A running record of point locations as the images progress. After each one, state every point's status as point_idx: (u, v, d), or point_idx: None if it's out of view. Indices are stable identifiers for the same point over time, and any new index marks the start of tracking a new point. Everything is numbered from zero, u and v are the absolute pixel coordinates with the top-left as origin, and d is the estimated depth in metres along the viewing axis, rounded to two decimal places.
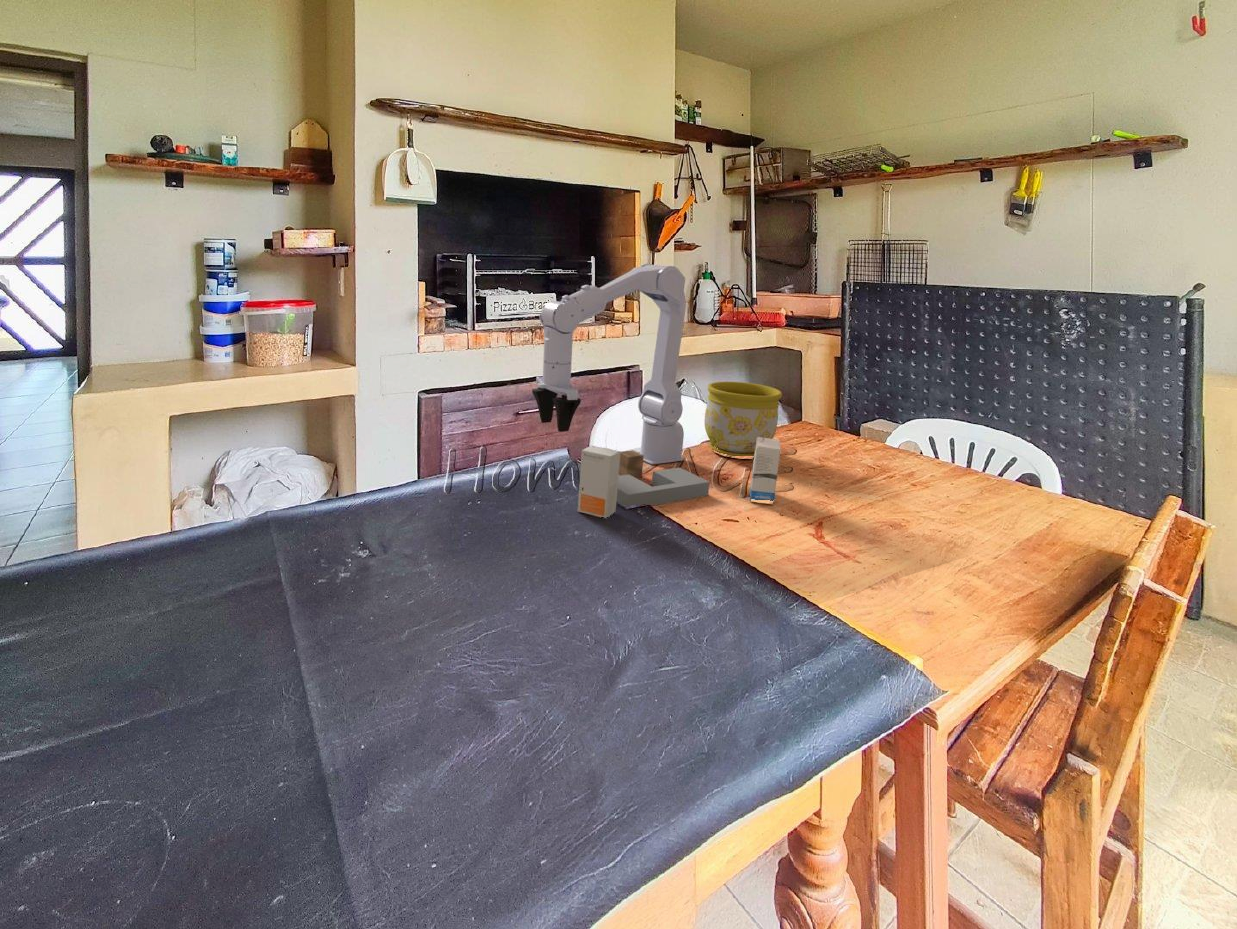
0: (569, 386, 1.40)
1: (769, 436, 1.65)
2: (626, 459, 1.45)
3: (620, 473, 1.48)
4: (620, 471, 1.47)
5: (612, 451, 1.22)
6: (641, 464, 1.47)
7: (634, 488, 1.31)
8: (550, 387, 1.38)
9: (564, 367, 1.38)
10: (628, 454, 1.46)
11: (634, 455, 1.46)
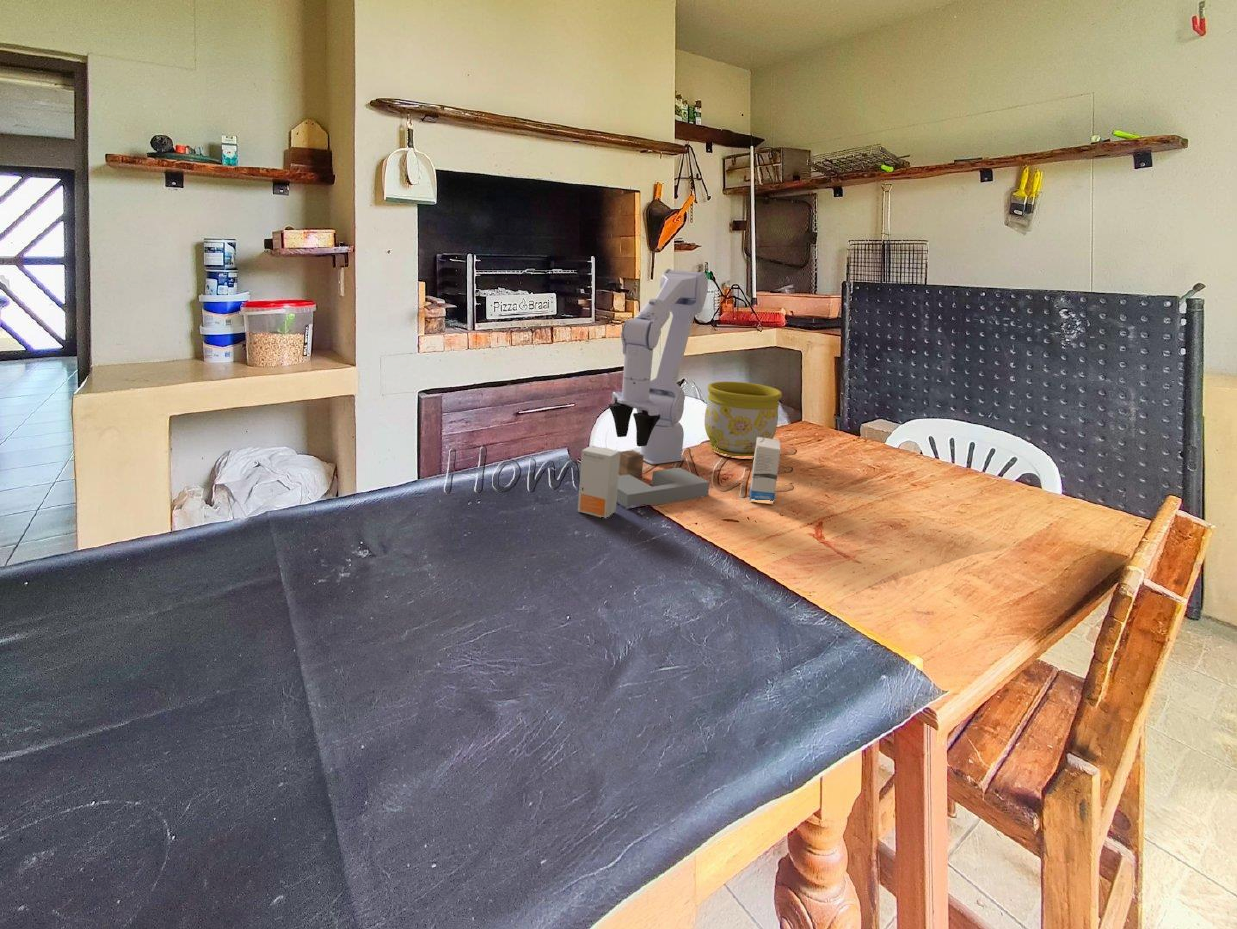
0: (648, 401, 1.42)
1: (769, 436, 1.65)
2: (626, 459, 1.45)
3: (620, 473, 1.48)
4: (620, 471, 1.47)
5: (612, 451, 1.22)
6: (641, 464, 1.47)
7: (634, 488, 1.31)
8: (630, 403, 1.41)
9: (644, 383, 1.40)
10: (628, 454, 1.46)
11: (634, 455, 1.46)
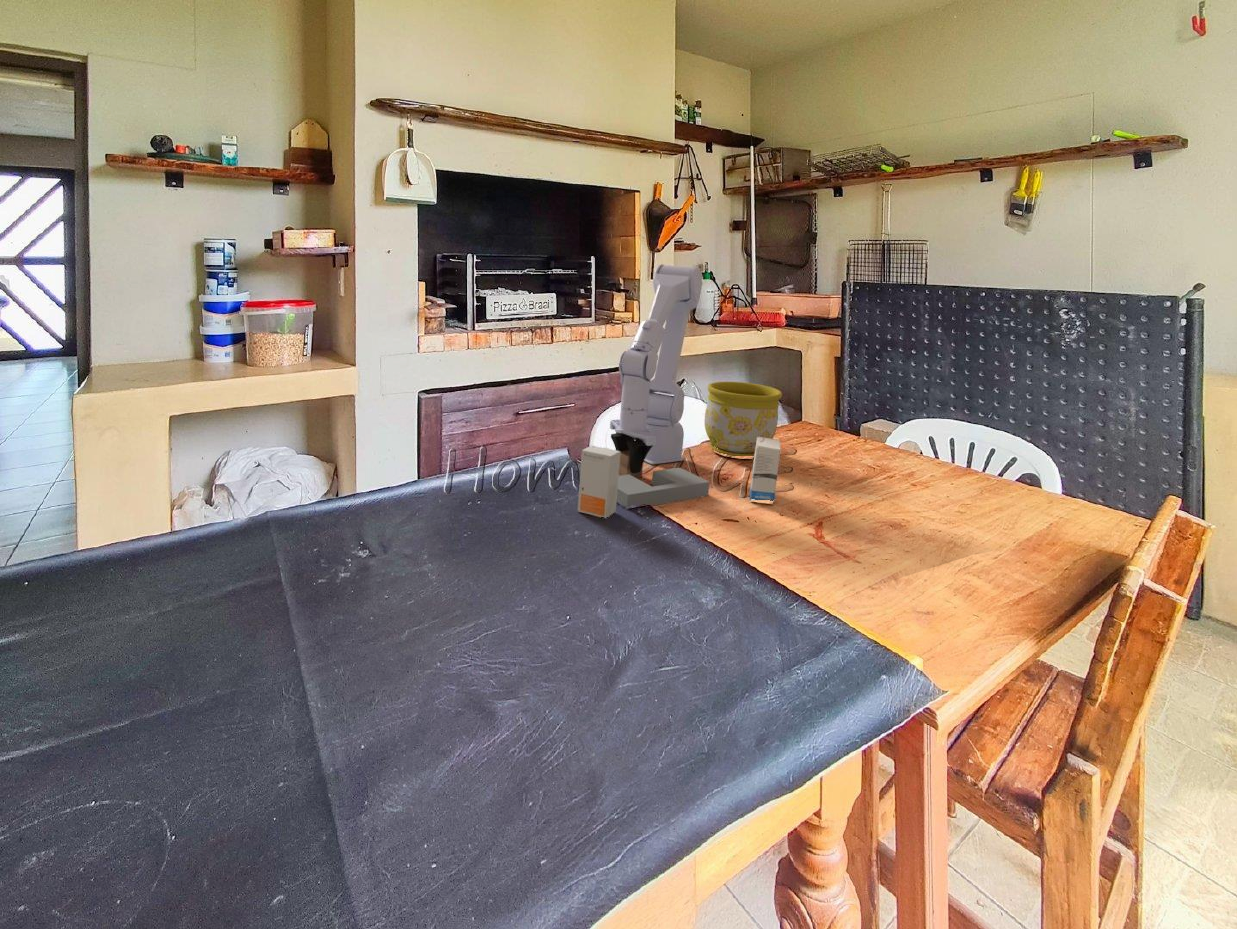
0: (645, 431, 1.44)
1: (769, 436, 1.65)
2: (626, 459, 1.45)
3: (620, 473, 1.48)
4: (620, 471, 1.47)
5: (612, 451, 1.23)
6: None
7: (634, 488, 1.31)
8: (628, 432, 1.42)
9: (642, 413, 1.42)
10: (628, 454, 1.46)
11: None
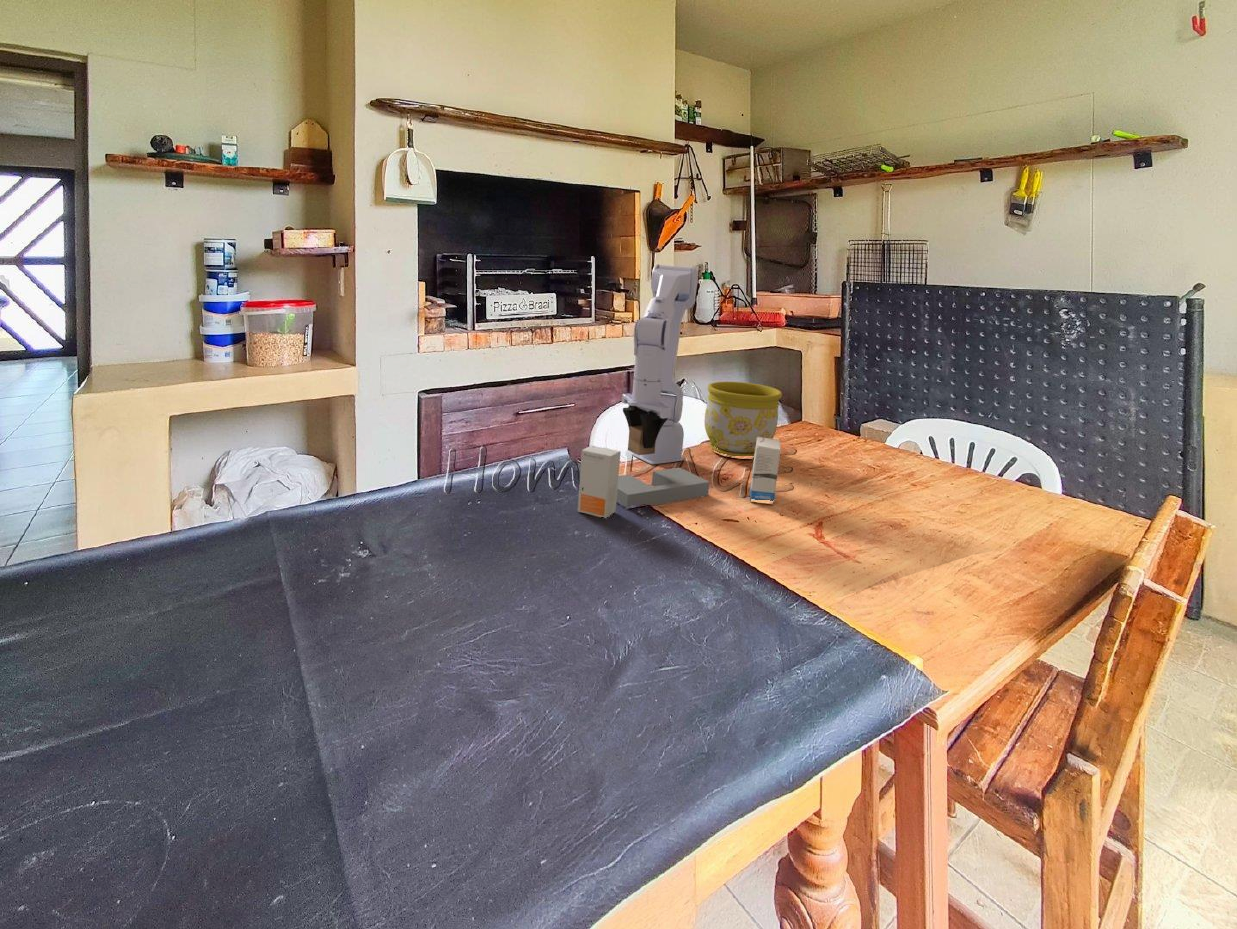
0: (659, 404, 1.37)
1: (769, 436, 1.65)
2: (638, 433, 1.38)
3: (632, 449, 1.40)
4: (632, 447, 1.40)
5: (612, 451, 1.23)
6: None
7: (634, 488, 1.31)
8: (641, 405, 1.35)
9: (656, 385, 1.35)
10: (641, 429, 1.39)
11: None
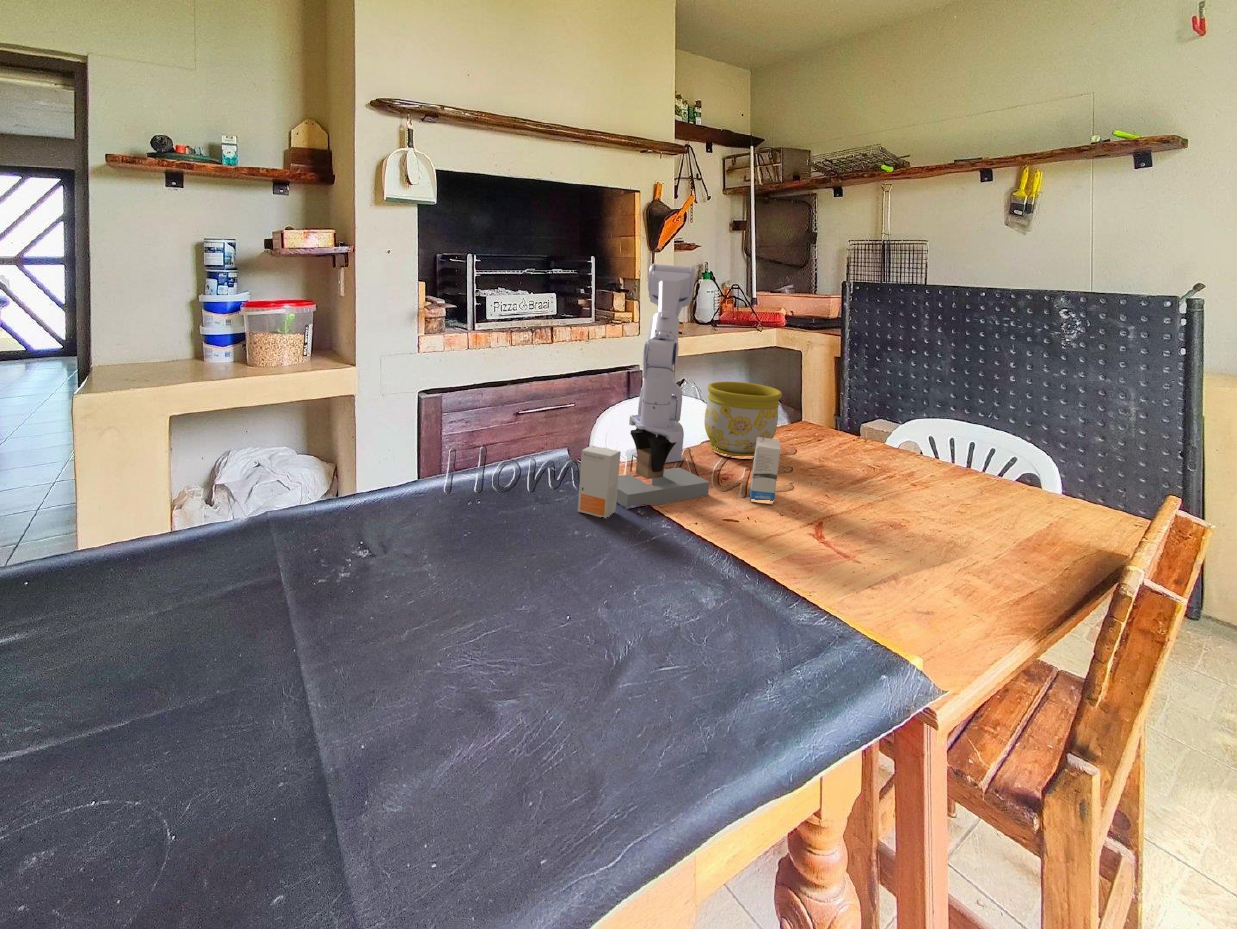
0: (668, 427, 1.34)
1: (769, 436, 1.65)
2: (647, 457, 1.35)
3: (640, 472, 1.37)
4: (640, 470, 1.37)
5: (612, 451, 1.22)
6: None
7: (634, 488, 1.31)
8: (650, 428, 1.32)
9: (665, 408, 1.32)
10: (649, 452, 1.36)
11: None
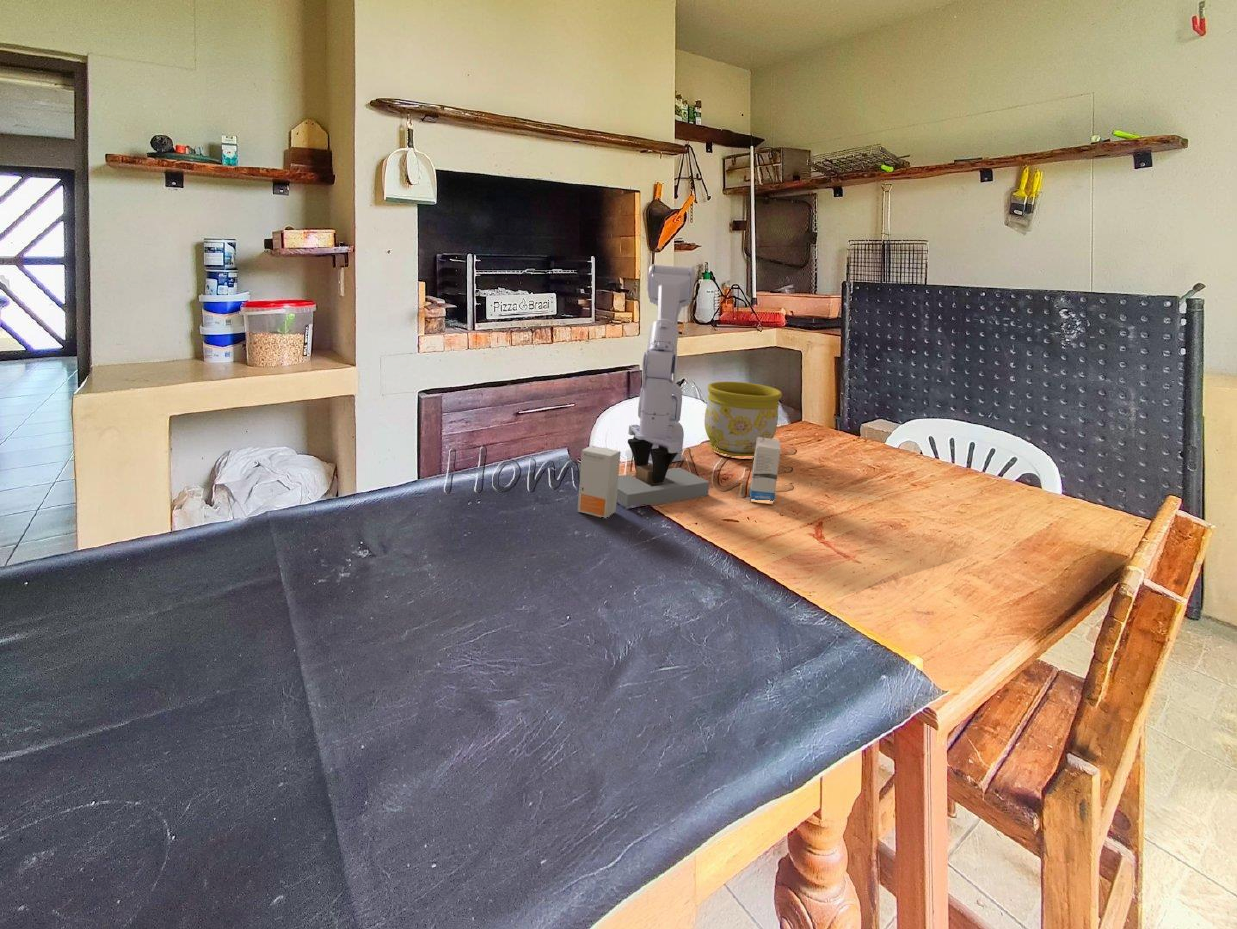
0: (667, 437, 1.35)
1: (769, 436, 1.65)
2: (645, 474, 1.36)
3: None
4: None
5: (612, 451, 1.23)
6: None
7: (634, 488, 1.31)
8: (649, 439, 1.33)
9: (664, 418, 1.33)
10: (647, 469, 1.37)
11: None
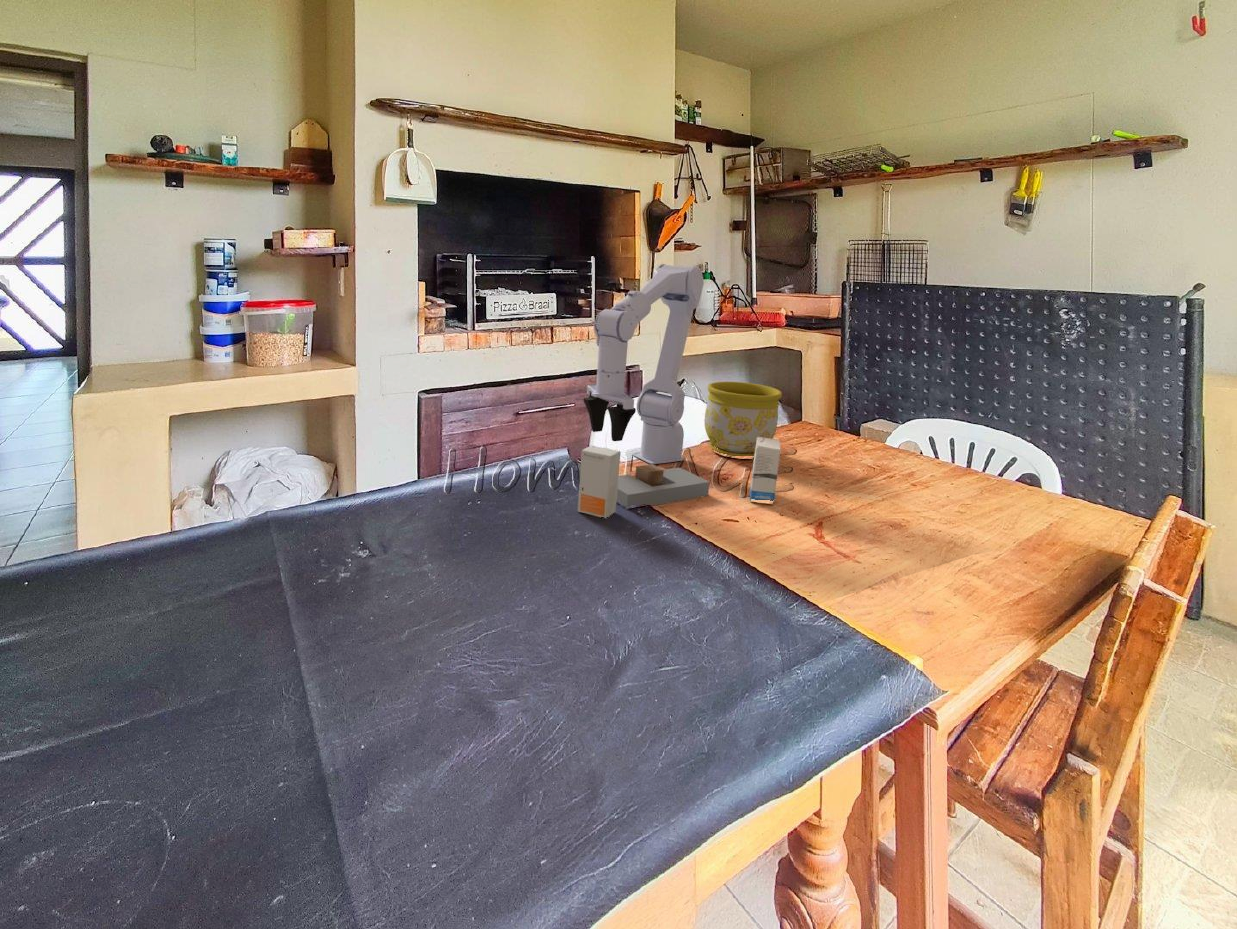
0: (623, 395, 1.38)
1: (769, 436, 1.65)
2: (645, 474, 1.36)
3: None
4: None
5: (612, 451, 1.23)
6: (661, 479, 1.38)
7: (634, 488, 1.31)
8: (605, 396, 1.37)
9: (619, 376, 1.36)
10: (647, 469, 1.37)
11: (654, 470, 1.37)
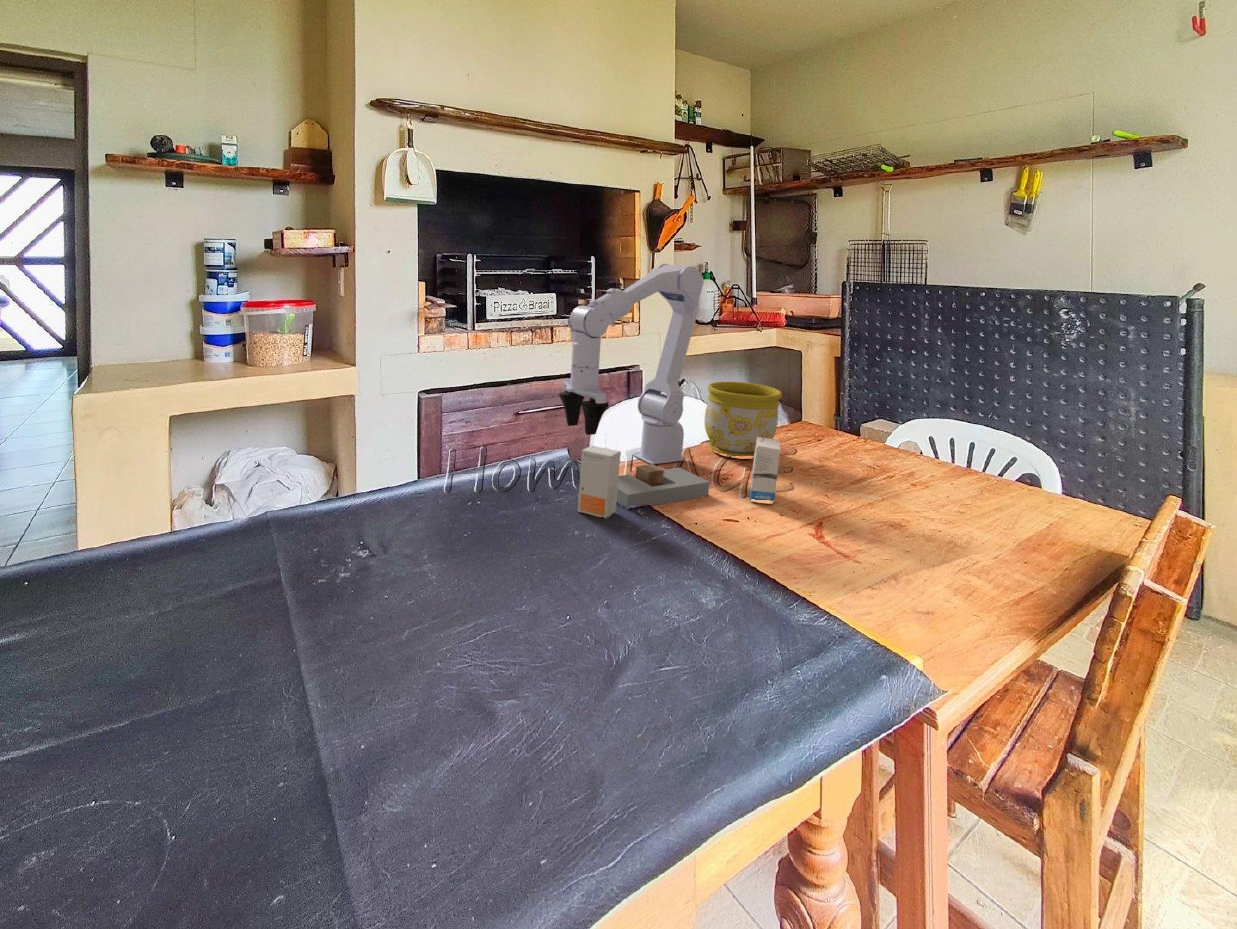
0: (597, 390, 1.42)
1: (769, 436, 1.65)
2: (645, 474, 1.36)
3: None
4: None
5: (612, 451, 1.23)
6: (661, 479, 1.38)
7: (634, 488, 1.31)
8: (578, 391, 1.40)
9: (592, 371, 1.39)
10: (647, 469, 1.37)
11: (654, 470, 1.37)
